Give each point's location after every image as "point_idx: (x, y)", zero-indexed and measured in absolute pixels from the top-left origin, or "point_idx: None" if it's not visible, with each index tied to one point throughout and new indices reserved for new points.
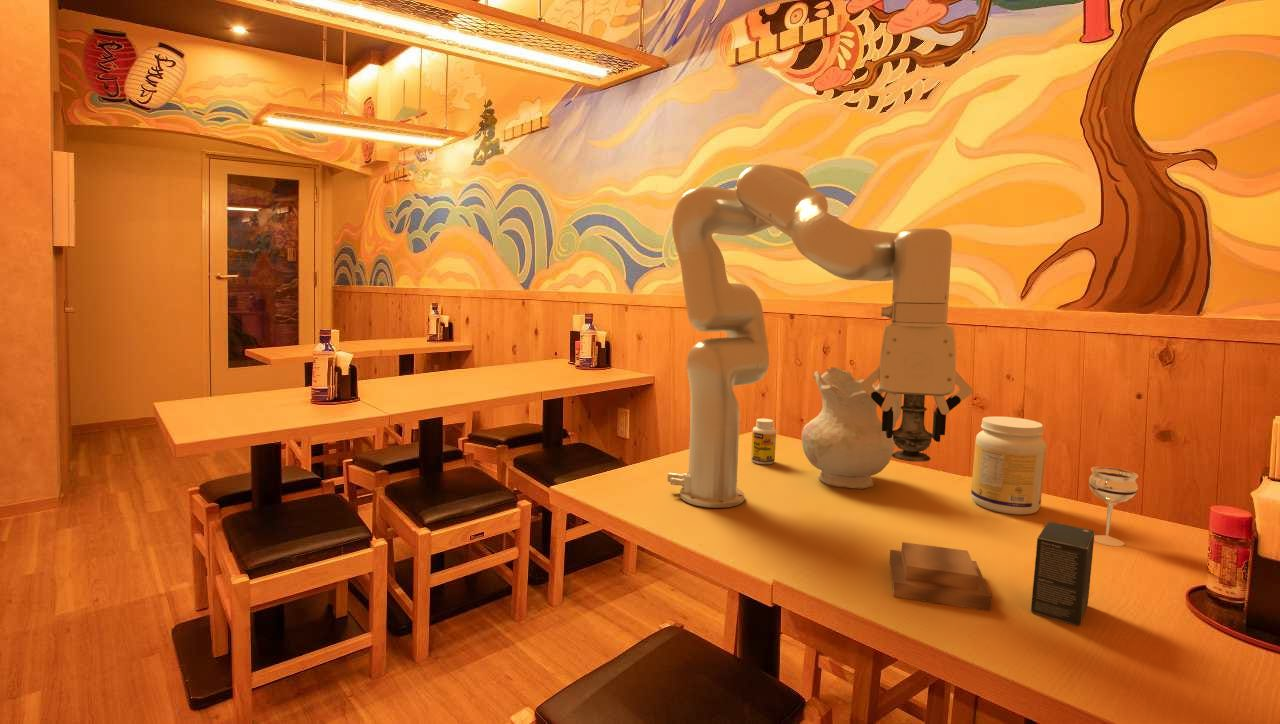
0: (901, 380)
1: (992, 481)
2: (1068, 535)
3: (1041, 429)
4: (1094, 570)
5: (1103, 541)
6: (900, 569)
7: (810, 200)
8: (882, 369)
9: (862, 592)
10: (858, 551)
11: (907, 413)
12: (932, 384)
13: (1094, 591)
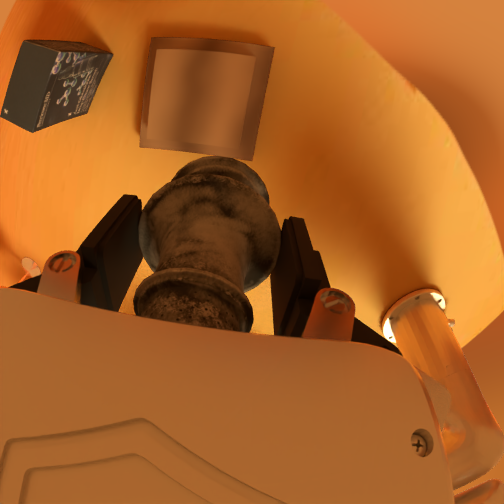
0: (306, 431)
1: None
2: (24, 78)
3: None
4: (37, 194)
5: (31, 263)
6: (254, 91)
7: None
8: (451, 484)
9: (313, 56)
10: (288, 186)
11: (228, 276)
12: (33, 357)
13: (44, 139)
